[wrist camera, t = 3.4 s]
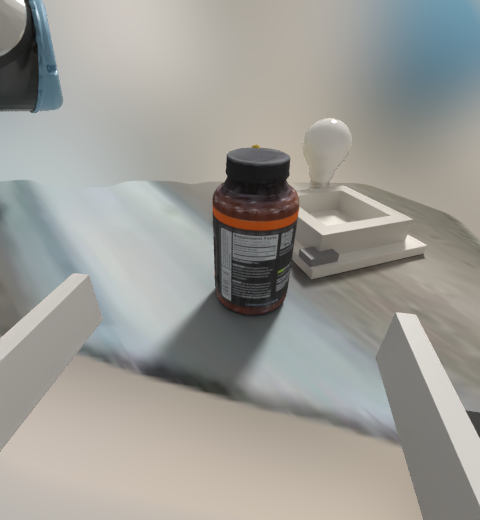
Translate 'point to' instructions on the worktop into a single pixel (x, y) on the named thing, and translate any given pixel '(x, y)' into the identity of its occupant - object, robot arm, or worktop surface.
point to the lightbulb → (325, 150)
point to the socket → (348, 232)
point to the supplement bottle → (254, 230)
